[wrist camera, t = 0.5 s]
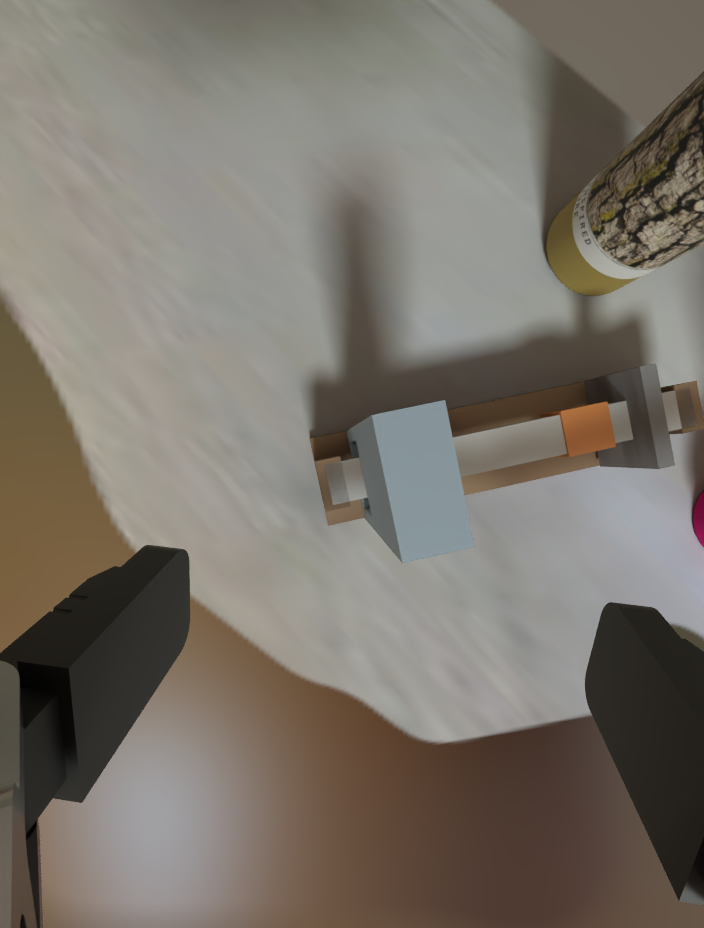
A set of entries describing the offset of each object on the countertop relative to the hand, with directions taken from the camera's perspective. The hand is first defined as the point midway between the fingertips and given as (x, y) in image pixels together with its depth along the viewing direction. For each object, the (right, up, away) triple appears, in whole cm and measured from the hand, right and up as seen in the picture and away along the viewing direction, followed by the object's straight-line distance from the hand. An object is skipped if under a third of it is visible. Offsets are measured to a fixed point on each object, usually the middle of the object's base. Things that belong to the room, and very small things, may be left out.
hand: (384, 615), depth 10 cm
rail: (+9, +4, +26) cm, 28 cm away
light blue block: (+1, +3, +25) cm, 25 cm away
